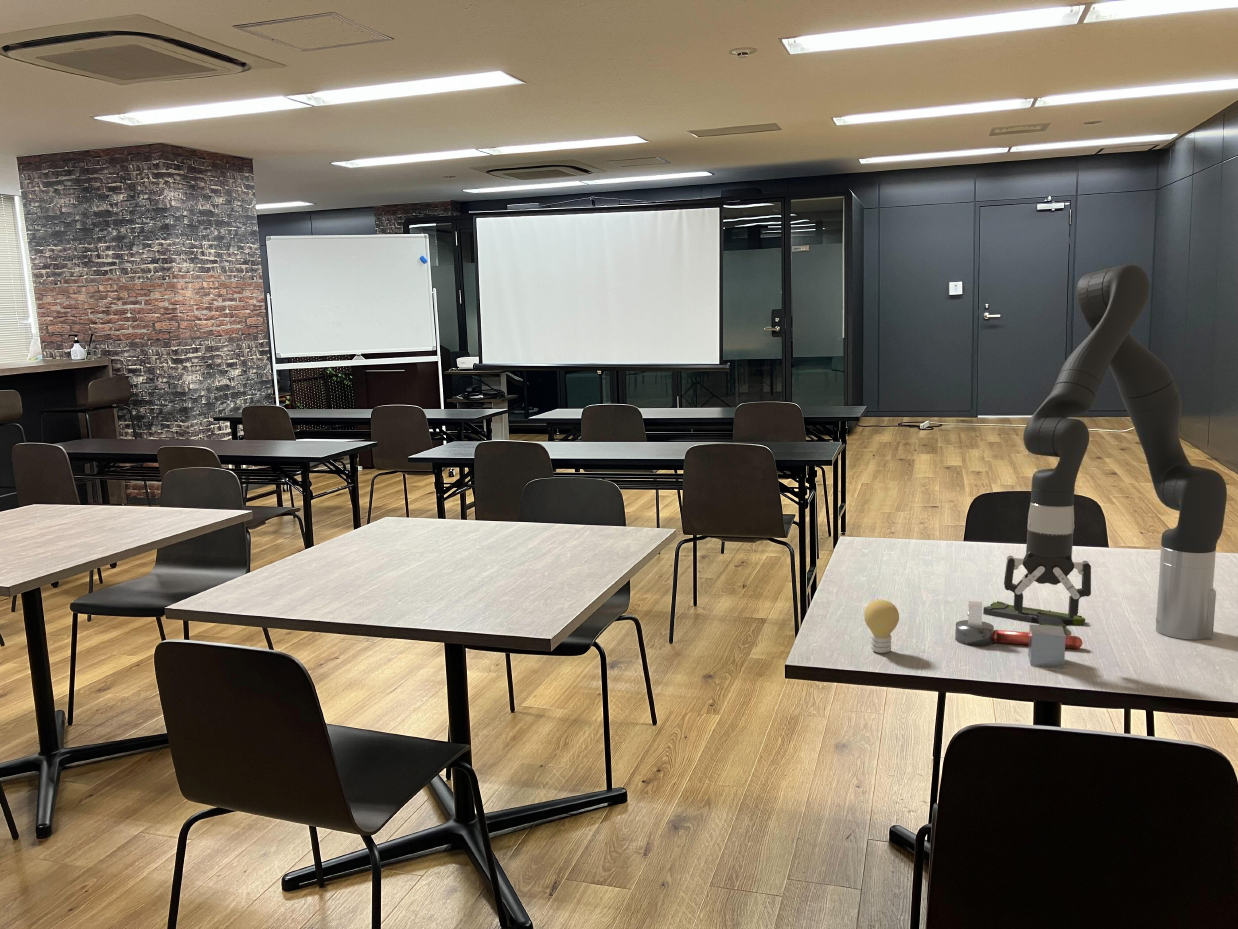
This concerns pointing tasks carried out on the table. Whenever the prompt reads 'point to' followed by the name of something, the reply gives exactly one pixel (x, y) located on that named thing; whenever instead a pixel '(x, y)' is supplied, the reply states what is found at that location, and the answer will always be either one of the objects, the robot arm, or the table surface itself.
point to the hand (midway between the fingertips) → (1044, 615)
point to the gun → (1032, 615)
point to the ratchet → (994, 632)
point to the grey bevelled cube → (1046, 646)
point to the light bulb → (881, 624)
